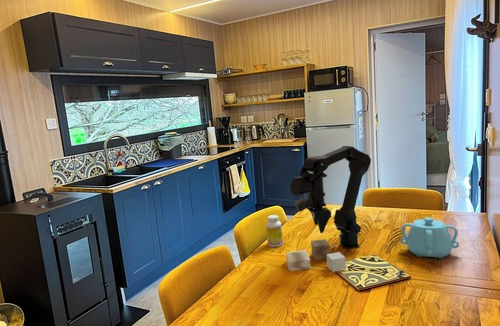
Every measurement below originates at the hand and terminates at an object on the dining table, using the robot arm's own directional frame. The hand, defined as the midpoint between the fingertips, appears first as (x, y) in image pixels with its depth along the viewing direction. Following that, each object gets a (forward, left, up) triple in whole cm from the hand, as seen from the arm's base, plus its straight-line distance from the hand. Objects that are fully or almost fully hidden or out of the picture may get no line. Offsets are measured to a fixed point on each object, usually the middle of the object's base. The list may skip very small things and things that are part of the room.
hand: (318, 228), depth 144 cm
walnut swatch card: (+8, -4, -12) cm, 15 cm away
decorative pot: (-40, +7, -12) cm, 42 cm away
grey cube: (-3, +11, -12) cm, 16 cm away
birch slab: (+10, +5, -12) cm, 16 cm away
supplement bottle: (+16, -18, -12) cm, 27 cm away
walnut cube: (0, 0, -12) cm, 12 cm away
